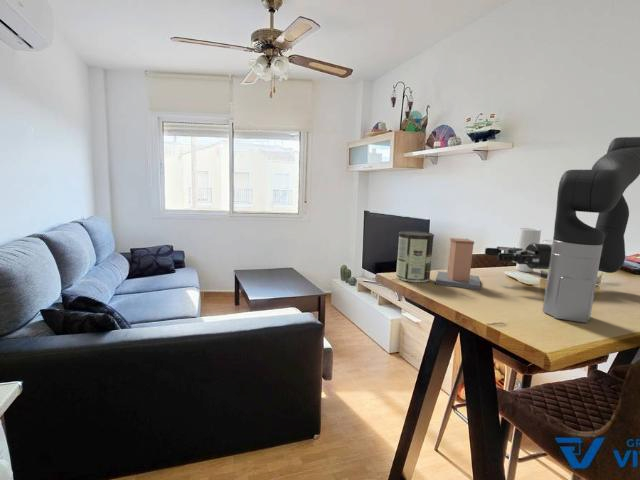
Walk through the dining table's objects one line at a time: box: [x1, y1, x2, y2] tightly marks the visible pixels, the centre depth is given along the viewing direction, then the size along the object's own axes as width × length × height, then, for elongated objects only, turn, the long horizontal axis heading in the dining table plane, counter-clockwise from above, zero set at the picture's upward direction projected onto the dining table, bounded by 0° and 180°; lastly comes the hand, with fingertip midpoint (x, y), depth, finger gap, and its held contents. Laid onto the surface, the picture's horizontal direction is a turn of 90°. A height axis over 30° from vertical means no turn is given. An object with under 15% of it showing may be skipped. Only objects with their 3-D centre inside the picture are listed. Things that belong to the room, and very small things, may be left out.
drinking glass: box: [515, 227, 542, 273], centre depth 128 cm, size 7×7×15 cm
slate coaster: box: [434, 270, 481, 291], centre depth 109 cm, size 12×12×1 cm
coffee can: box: [395, 230, 435, 284], centre depth 110 cm, size 10×10×14 cm
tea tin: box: [446, 237, 475, 281], centre depth 108 cm, size 5×5×12 cm
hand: (491, 254), depth 108 cm, fingers open, 8 cm apart
